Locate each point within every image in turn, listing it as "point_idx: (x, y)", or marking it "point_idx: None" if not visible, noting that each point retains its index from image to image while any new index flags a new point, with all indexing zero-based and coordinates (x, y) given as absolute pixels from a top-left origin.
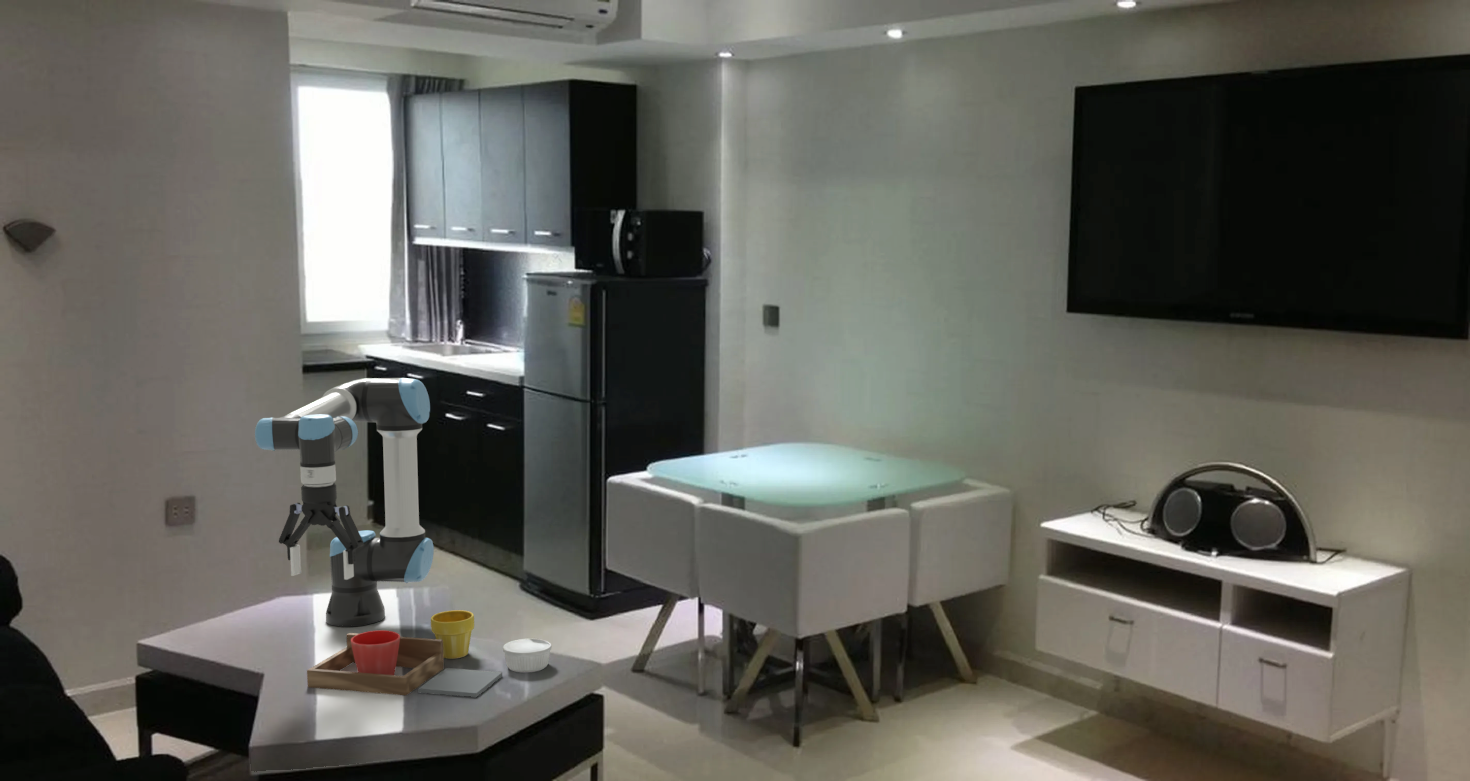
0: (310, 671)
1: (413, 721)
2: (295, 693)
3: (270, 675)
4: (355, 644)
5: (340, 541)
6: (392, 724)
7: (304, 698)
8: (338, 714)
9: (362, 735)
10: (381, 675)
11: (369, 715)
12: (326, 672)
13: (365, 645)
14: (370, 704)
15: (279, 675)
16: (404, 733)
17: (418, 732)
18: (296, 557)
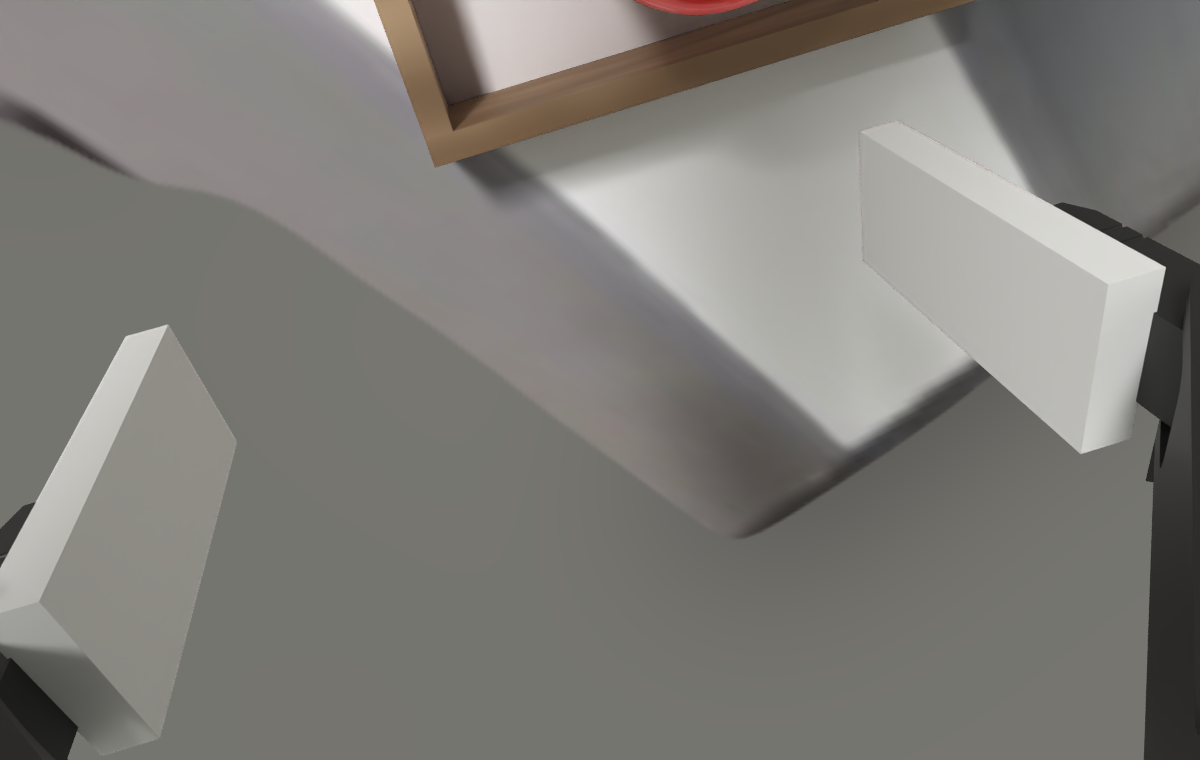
0: (455, 159)
1: (1077, 197)
2: (451, 223)
3: (90, 110)
4: (675, 13)
5: (1151, 569)
6: None
7: (538, 243)
8: (785, 287)
9: (966, 362)
10: (844, 30)
11: None
12: (545, 131)
13: (752, 2)
14: (839, 152)
15: (132, 85)
16: None
17: None
18: (159, 538)
